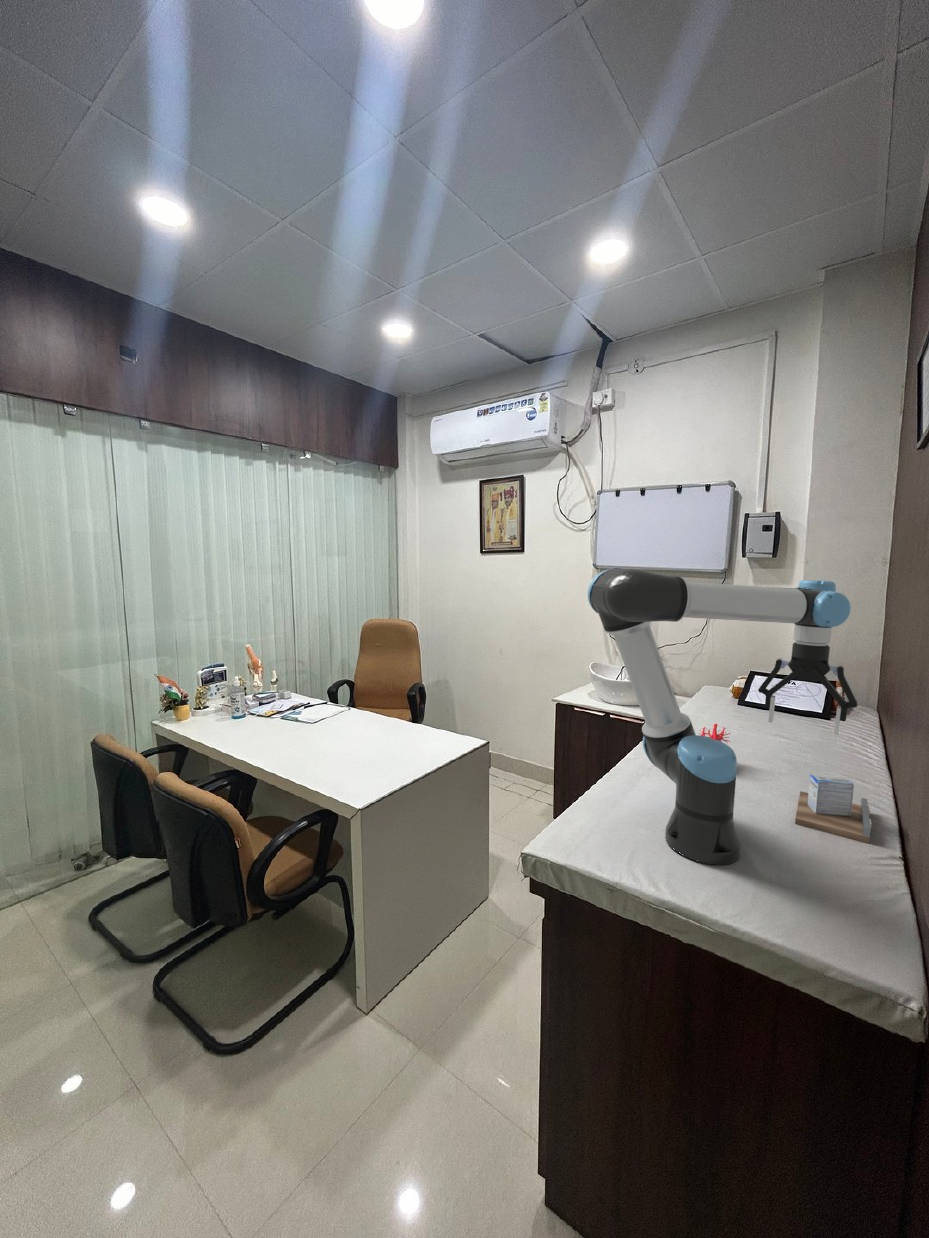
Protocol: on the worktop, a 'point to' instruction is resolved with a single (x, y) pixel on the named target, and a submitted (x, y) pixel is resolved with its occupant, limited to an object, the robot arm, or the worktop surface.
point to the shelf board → (836, 820)
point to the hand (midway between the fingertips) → (802, 727)
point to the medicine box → (830, 794)
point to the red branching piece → (715, 734)
